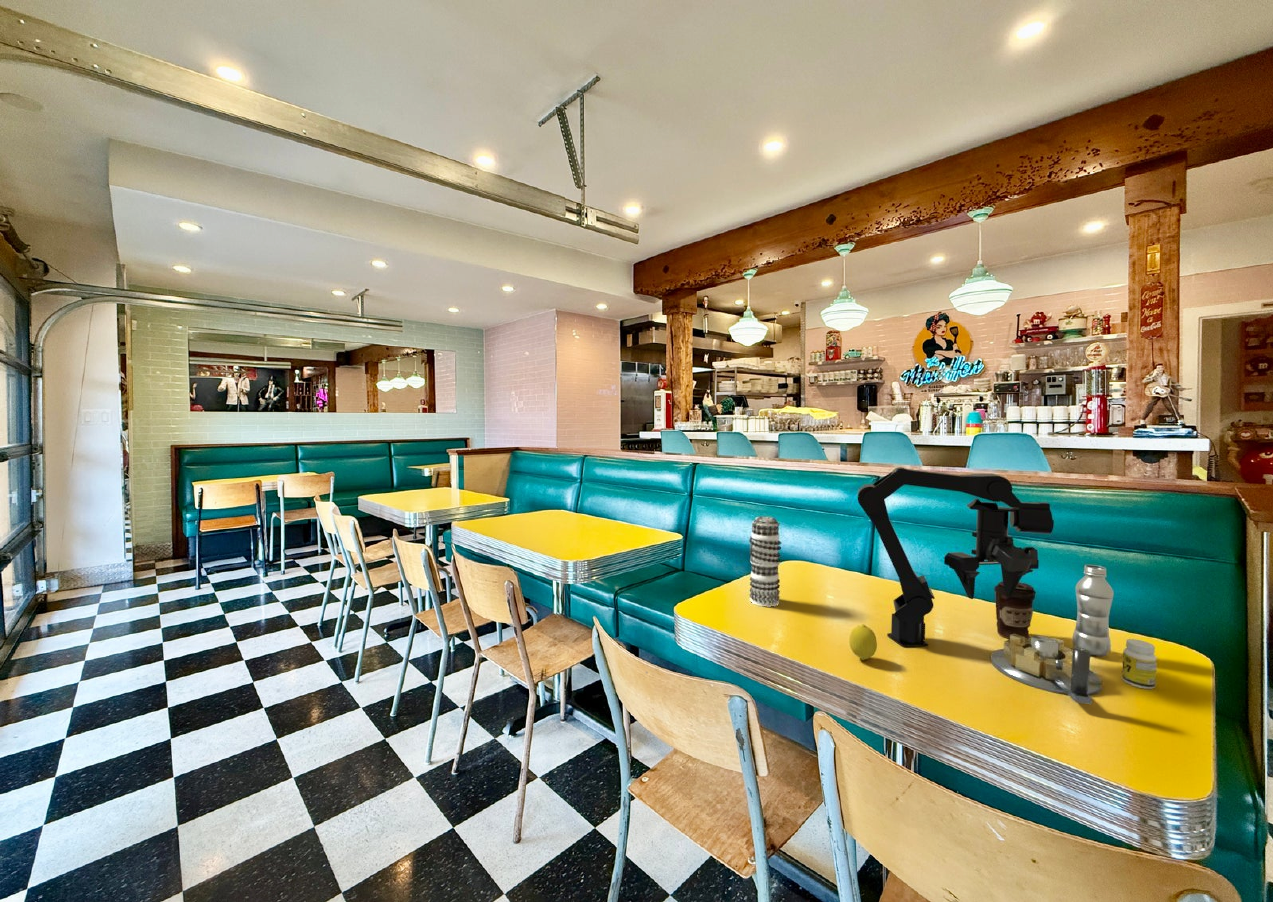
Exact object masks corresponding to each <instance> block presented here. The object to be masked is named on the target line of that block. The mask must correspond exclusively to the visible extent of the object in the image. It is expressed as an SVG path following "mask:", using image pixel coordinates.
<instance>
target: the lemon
mask: <svg viewBox="0 0 1273 902" xmlns="http://www.w3.org/2000/svg"><path fill="white" fill-rule="evenodd" d="M848 640H849V647H850V649H851V652H852V653H853V654H854V655H855V656H856V657H858V658H860V660H862V661H864V660H866V659H870V658H872V657H873V656H875V653H876V651H877V647H878V643H877V637H876V634H875V632H874V630H872V629H871V628H870V627H868V626H867V625H866V624H864V623H863V624H861V625H857V626H855V627H854V628H853V629H852V630H851V632H850V635H849V639H848Z"/></svg>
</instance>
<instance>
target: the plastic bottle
mask: <svg viewBox="0 0 1273 902" xmlns="http://www.w3.org/2000/svg"><path fill="white" fill-rule="evenodd" d="M1083 569H1084V570H1083V574H1084V576H1083V577H1082V578H1081V579H1079V581H1078V582H1077V583H1076V585H1075V596H1076V605H1077V607H1076V608H1077V609H1076V610H1077V612H1076V613H1077V614H1076V615H1077V617H1076V622H1075V628H1074V631H1073V635H1072V643H1073V645H1074V647H1079V648H1083V649H1086V650H1089V651H1090V656H1091V655H1093V656H1099V657H1103V656H1104V657H1105V656H1107V655H1108V654H1109V653H1110V651H1111V648H1112V647H1111V646H1112V644H1111V637H1110V629H1109V628H1110V627H1109V625H1110V624H1109V620H1110V619H1109V618H1110V617H1109V616H1110V611H1111V607H1112V603H1113V598H1114V593H1115V592H1114V590H1113V588H1112V587H1111V585H1110V584H1109V583H1108V581H1107V580H1106V578H1107V568H1106V567H1103V566H1101V565H1095V564H1085V565H1084V568H1083Z"/></svg>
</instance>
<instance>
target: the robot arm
mask: <svg viewBox="0 0 1273 902" xmlns="http://www.w3.org/2000/svg"><path fill="white" fill-rule="evenodd" d="M905 485H906V486H913V487H922V488H929V489H938V490H944V491H945V490H946V491H952V492H960V493H964V494H967V495H969V496H974V497H975V498H974V499H973V500H972V501H971V502H969V503H967V504H966V507H967V508H968V509H970V510H972V511H973V510H974V511H977V512H976V531H971V537H974V538H976V540H975V548H971V554H969V553H968V554H967V553H965V552H962V551H961V552H960V551H957V552H947V553H946V554H945V555H944V558H943V559H944V560H943V561H944V562H943V564H944V565H946V566H948V567H949V568H950V569H951V570H953V571H954V572H955V575H956V576H957V579H959V581H960V583H961V585H962V589H964V591H965V594H966V596H967V598H968V599H970V600H973V599H974V597H975V589H976V586H975V585H976V578H977V576H978V575H980V573H981V572H980V571H977V570H978V569H979V568H980V566H985V565H986V566H988V565H990V566H991V565H995V566H996V565H1000V570H1001V577H1002V581H1003V587H1004V592H1005V596H1006V597H1008V598H1010V597H1011V596H1012V594H1013V592H1014V590H1015V588H1016V586H1017V584H1018V582H1020V580H1021V579H1022V578H1023V576H1025V575H1027V574H1029V573H1033V572H1034V570H1039V561H1040V560H1039V555H1038V549H1036V548H1035V547H1033V546H1025V547H1023V548H1022V547H1021V546H1020V547H1017V546H1016V545H1015V544H1014V539H1013V536H1010V535H1009V525H1010V527H1013V528H1014V529H1015V531H1016V532H1018V533H1029V534H1030V533H1032V534H1044V535H1051V534H1052V533H1053V530H1054V527H1055V526H1054V525H1055V524H1054V523H1055V519H1053V513H1052V511H1051V504H1050V503H1048V502H1044V501H1037V502H1028V501H1021V500H1020V499H1019V498H1018V497H1017V496H1016V495H1015V494H1014V493H1013V485H1012V483H1011V481H1009V480H1008V478H1007V477H1004V476H1001V475H998V474H995V473H970V474H955V473H954V474H953V473H945V472H939V471H938V472H937V471H928V470H921V469H911V468H906V467H902V466H900V467H899V466H898V467H896V468H894V469H893V470H892V471H890V473H888V474H886V475H885V476H883V477H881V478H879V479H878V480H876V481H875V482H874V483H867V484H864V485H862V486H861V487H859V489H858V491H857V502H858V504H859V506H860V508H862V510H863V511H864V514H866V516H867V517H868V519H869V520H870V521H871V523H873V525H874V527H875V529H876V532H877V533H878V536H879V538H880V540H881V542H882V545H883V547H884V548H885V551H886V553H887V555H888V558H889V559H890V563H892V566H893V569H894V570H895V572H896V573H895V574H896V575H897V577H898V580H899V584H900V587H901V592H902V593H901V594H900V595H899V596H897V597H896V598H895V599H893V608H894V610H895V612H894V613H891V624H890V625H891V628H890V630H891V631H890V632H888V633H886V636H887V637H888V638H890V639H891V640H893V641H894V642H896V643H897V644H899V645H900V646H902V647H905V648H906V647H908V648H909V647H924V646H928V645H929V643H928V642H926V641H925V639H926V623H925V615H928V614H930V613H931V612H932V610H933V608H934V602H933V600H935V599H936V598H935V595H934V593H933V591H932V588H930V586H929V584H928V580H927V579H926V576H925V575H924V574H922V575H920V576H919V575H917V572H915V571H914V569H913V567H912V564H911V563H910V561H909V557H907V555H906V552H905V550H904V547H903V545H902V543H901V541H900V539H899V536H898V535H897V532H896V530H895V528H894V527H893V524H892V522H891V520H890V517H889V513H888V508H887V505H886V501H885V500H886V499H887V498H888V497H890V496H892V494H894V493H895V492H897V491H898V490H899V489H900V488H902V487H903V486H905ZM980 498H981V499H984V500H988V501H981V500H980ZM989 501H991V502H989ZM997 502H998V503H999V502H1001V503H1003V504H1005V505H1006V506H999V505H998V503H997Z"/></svg>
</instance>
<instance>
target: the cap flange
mask: <svg viewBox="0 0 1273 902" xmlns="http://www.w3.org/2000/svg"><path fill="white" fill-rule="evenodd" d="M1030 637H1031V638H1030V639H1031V648H1033V649H1036V650H1039V656H1040V657H1043V658H1049V659H1058V641H1056V640H1054V639H1052V638H1053V637H1049V636H1045V635H1037V634H1036V635H1032V636H1030ZM1003 652H1004V648H1001V649H999V648H998V649H997V650H994V651H992V653H991V655H990V663H991V665H992V666H993V667H994V668H995V669H996V670H997V671H999V672H1000V673H1001V674H1003V675H1005V676H1006V677H1008V678H1010V679H1013V680H1014V681H1017V682H1018V683H1021V684H1024V685H1026V686H1029V687H1032V688H1036V689H1039V690H1043V691H1047V692H1050V693H1055V694H1060V695H1061V694H1062V695H1066V696H1069V695H1068V694H1067V693H1066V692H1065V691H1064V690H1063V689H1062V688H1061V687H1060V686H1059V685H1058V684H1057V683H1056V682H1055V681H1054V680H1052V679H1046V678H1045V677H1044V676H1043V675H1042V676H1040V677H1038V676H1035V675H1033V674H1030V673H1028V672H1025V671H1023V670H1020V669H1017V668H1015V666H1014V665H1010V663H1009V662H1008V661H1007V660H1006V659H1005V658H1004V656H1003ZM1102 686H1103V680H1102V679H1101V677H1100V676H1098V674H1097V673H1096V672H1095V671H1092V670H1091V669H1089V688H1088V695H1089V696H1092V695H1097V694H1099V693H1100V692H1102V689H1103V687H1102Z"/></svg>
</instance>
